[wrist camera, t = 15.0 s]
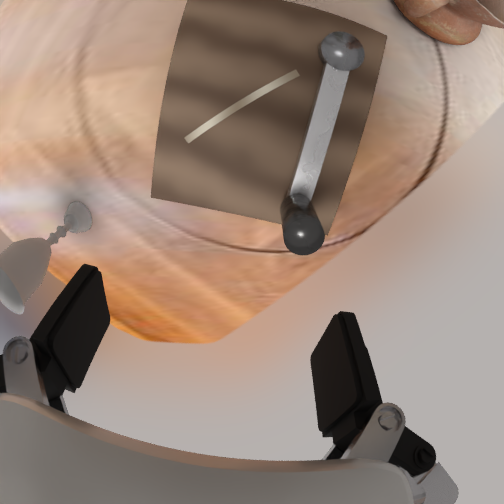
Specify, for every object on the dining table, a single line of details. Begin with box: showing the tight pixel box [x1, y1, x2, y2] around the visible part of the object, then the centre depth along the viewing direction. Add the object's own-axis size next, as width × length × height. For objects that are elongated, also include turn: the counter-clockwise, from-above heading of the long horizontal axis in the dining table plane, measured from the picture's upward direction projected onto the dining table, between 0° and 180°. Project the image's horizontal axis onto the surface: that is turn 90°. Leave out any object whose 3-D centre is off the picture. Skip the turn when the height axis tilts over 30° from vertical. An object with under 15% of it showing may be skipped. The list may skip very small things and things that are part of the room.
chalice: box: [0, 202, 92, 314], centre depth 27 cm, size 7×7×18 cm
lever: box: [280, 31, 365, 255], centre depth 22 cm, size 22×4×8 cm, turn 167°
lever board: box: [151, 0, 387, 235], centre depth 26 cm, size 26×22×2 cm
